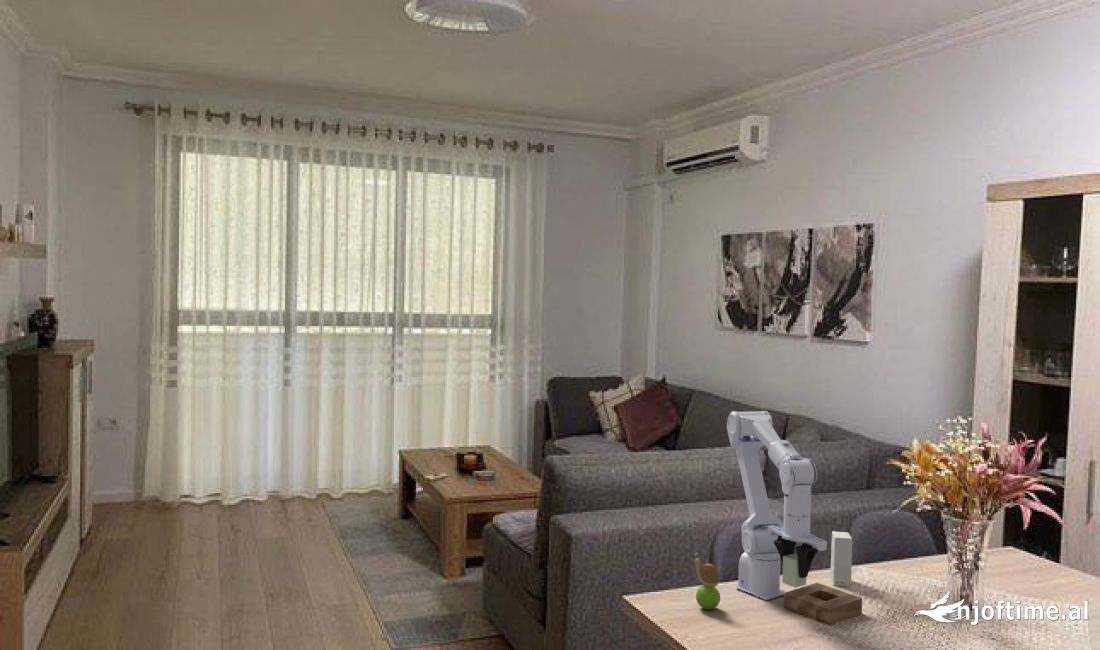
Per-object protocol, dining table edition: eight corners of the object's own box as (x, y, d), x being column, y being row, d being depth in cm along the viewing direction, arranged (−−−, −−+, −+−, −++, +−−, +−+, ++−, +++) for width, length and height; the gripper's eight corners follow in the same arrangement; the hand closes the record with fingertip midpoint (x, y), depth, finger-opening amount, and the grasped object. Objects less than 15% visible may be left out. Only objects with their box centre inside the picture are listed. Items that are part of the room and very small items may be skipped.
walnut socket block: (784, 607, 187) (784, 592, 186) (816, 597, 194) (816, 582, 194) (829, 625, 177) (829, 609, 177) (861, 613, 184) (862, 598, 184)
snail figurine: (701, 601, 190) (702, 550, 190) (724, 609, 185) (725, 556, 185) (687, 607, 186) (688, 555, 186) (711, 615, 182) (712, 562, 181)
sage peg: (782, 582, 182) (783, 556, 182) (792, 579, 184) (793, 553, 184) (795, 587, 179) (796, 560, 179) (806, 584, 181) (806, 557, 181)
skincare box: (851, 587, 201) (852, 538, 200) (833, 585, 202) (834, 537, 201) (847, 578, 207) (848, 532, 206) (830, 577, 208) (831, 530, 207)
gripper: (759, 509, 185) (757, 568, 185) (812, 524, 173) (811, 587, 173) (779, 504, 189) (778, 562, 189) (833, 519, 177) (831, 581, 178)
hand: (795, 574), depth 182 cm, fingers closed on sage peg, 4 cm apart
